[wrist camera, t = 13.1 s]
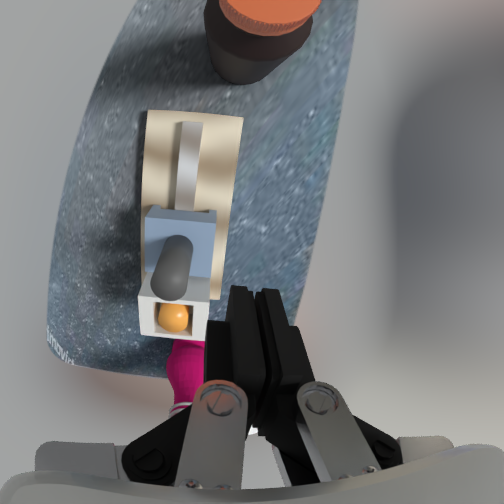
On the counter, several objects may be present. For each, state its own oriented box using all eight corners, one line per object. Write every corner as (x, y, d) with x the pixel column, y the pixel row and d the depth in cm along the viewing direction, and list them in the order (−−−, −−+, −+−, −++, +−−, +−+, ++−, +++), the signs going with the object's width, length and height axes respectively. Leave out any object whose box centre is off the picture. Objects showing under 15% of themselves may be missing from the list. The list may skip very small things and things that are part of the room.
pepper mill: (176, 365, 45) (166, 479, 27) (164, 331, 42) (144, 454, 24) (221, 361, 45) (227, 477, 27) (213, 326, 42) (215, 453, 24)
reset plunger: (163, 285, 32) (157, 307, 28) (191, 288, 32) (188, 310, 29) (163, 308, 33) (158, 330, 30) (189, 310, 34) (187, 333, 30)
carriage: (153, 204, 32) (125, 247, 22) (216, 210, 33) (215, 256, 23) (152, 254, 34) (128, 311, 24) (211, 259, 35) (209, 319, 25)
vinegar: (213, 27, 26) (205, -69, 8) (276, 32, 26) (342, -52, 8) (208, 84, 29) (190, 39, 11) (272, 87, 29) (340, 54, 11)
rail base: (151, 110, 29) (145, 109, 27) (242, 117, 31) (244, 117, 28) (144, 286, 38) (140, 297, 36) (219, 293, 40) (219, 305, 37)
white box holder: (152, 258, 35) (137, 295, 28) (211, 263, 36) (209, 302, 29) (153, 293, 37) (140, 334, 30) (207, 298, 38) (206, 341, 31)
